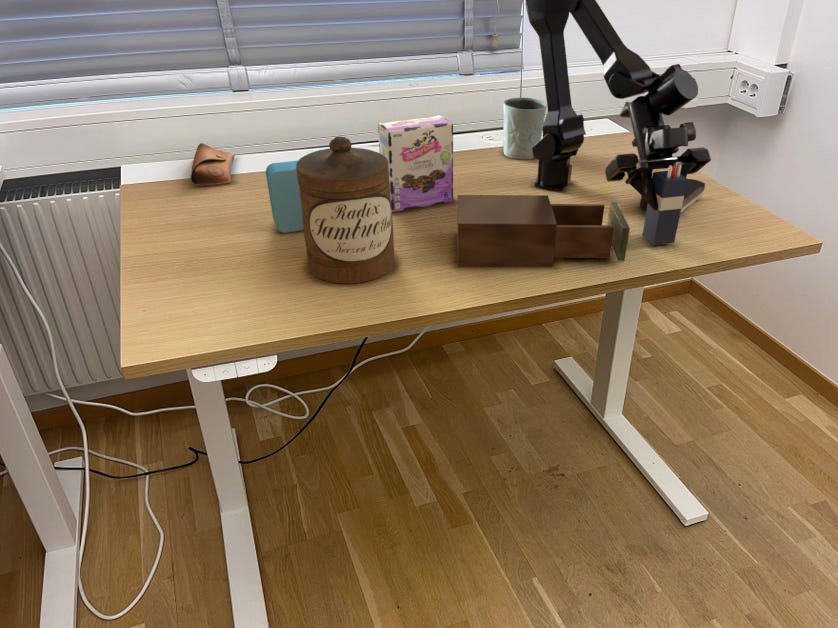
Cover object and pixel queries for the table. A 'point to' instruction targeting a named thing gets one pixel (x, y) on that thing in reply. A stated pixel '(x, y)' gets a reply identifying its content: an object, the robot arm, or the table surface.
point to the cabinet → (505, 231)
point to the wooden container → (346, 212)
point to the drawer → (589, 231)
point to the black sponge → (691, 194)
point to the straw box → (665, 206)
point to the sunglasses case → (211, 166)
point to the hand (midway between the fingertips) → (668, 208)
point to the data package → (285, 196)
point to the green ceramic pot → (522, 126)
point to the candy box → (418, 161)
